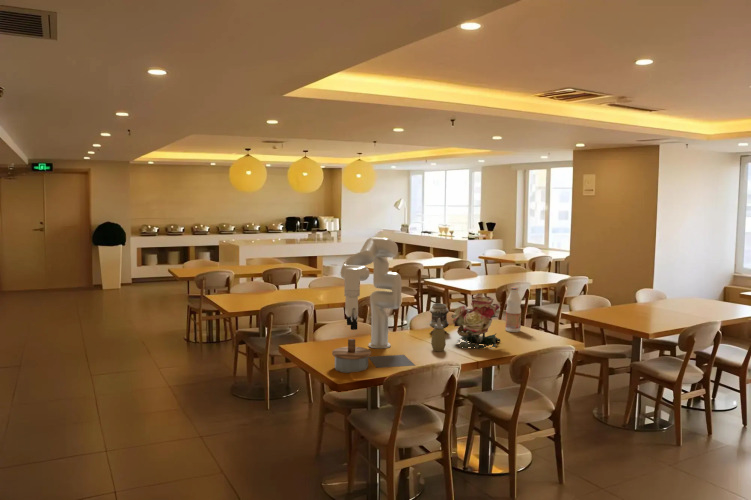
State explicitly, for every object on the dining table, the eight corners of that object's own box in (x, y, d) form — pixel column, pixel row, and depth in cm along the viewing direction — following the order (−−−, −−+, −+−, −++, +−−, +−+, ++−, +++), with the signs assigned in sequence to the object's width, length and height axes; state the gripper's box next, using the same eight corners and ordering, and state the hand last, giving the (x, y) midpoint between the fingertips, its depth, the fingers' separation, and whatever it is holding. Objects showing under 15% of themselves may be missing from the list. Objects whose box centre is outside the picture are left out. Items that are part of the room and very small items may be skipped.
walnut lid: (329, 350, 289) (329, 336, 288) (366, 348, 293) (366, 334, 293) (335, 360, 270) (336, 345, 270) (374, 358, 275) (375, 343, 274)
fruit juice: (509, 332, 362) (510, 289, 359) (502, 329, 371) (504, 286, 369) (523, 332, 364) (524, 288, 362) (516, 328, 373) (517, 286, 371)
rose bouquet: (451, 337, 347) (452, 289, 344) (500, 340, 341) (502, 291, 338) (448, 348, 322) (450, 296, 319) (501, 351, 316) (503, 298, 313)
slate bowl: (332, 364, 288) (332, 350, 287) (363, 362, 292) (363, 349, 291) (338, 373, 273) (338, 359, 272) (370, 371, 276) (370, 357, 276)
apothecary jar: (438, 329, 368) (438, 302, 367) (452, 332, 359) (453, 304, 358) (425, 332, 360) (425, 304, 358) (439, 335, 351) (440, 307, 350)
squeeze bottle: (432, 347, 322) (433, 316, 321) (446, 349, 320) (447, 317, 319) (429, 351, 315) (430, 319, 313) (444, 352, 312) (445, 320, 311)
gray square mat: (367, 357, 301) (367, 356, 301) (404, 355, 305) (404, 354, 305) (376, 368, 281) (376, 367, 281) (415, 366, 286) (415, 365, 286)
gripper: (341, 290, 286) (341, 323, 288) (347, 296, 270) (347, 331, 272) (355, 289, 288) (355, 322, 290) (363, 295, 272) (363, 331, 273)
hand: (352, 327), depth 281 cm, fingers open, 9 cm apart
